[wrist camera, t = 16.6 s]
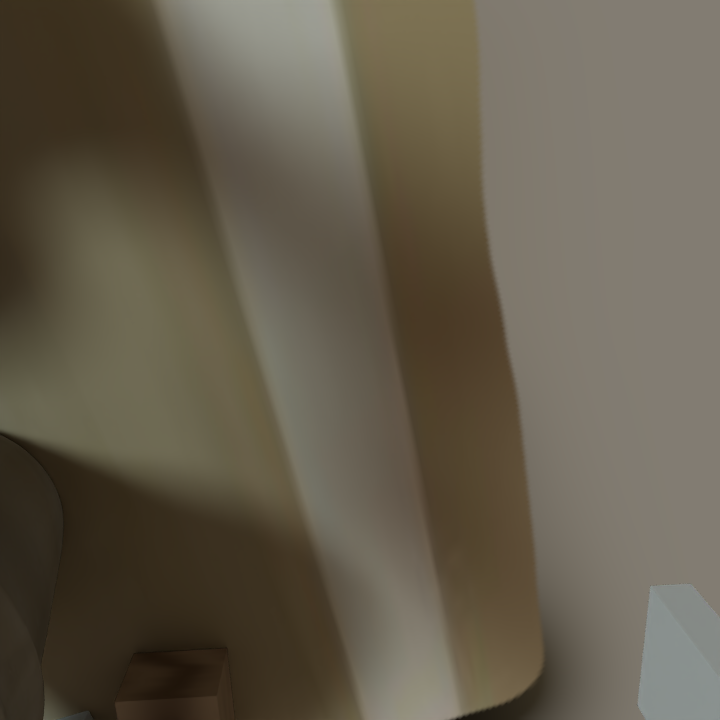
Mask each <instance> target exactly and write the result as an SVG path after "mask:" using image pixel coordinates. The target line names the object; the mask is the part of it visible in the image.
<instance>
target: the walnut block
mask: <svg viewBox="0 0 720 720" xmlns="http://www.w3.org/2000/svg"><path fill="white" fill-rule="evenodd" d="M114 703H115V708H116V714H117V720H235V715H234V706H233V697H232V688H231V679H230V670H229V661H228V652H227V648H220V649H203V650H186V651H169V652H152V653H135V654H134V655H133V657H132V660H131V662H130V665H129V667H128V670H127V672H126V675H125V677H124V679H123V682H122V684H121V687H120V689H119V692H118V694H117V697H116V699H115V702H114Z"/></svg>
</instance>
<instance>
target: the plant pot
mask: <svg viewBox="0 0 720 720" xmlns="http://www.w3.org/2000/svg"><path fill="white" fill-rule="evenodd" d="M63 525H64V521H63V510H62V505H61V502H60V498H59V495H58V492H57V490H56V488H55V486H54V484H53V482H52V481H51V479H50V477H49V476H48V474H47V473H46V471H45V470H44V468H43V467H42V466H41V465H40V464H39V463H38V462H37V460H36V459H35V458H33V457H32V456H31V455H30V454H29V453H28V452H27V451H25V450H24V449H23V448H22V447H20V446H19V445H17V444H16V443H14V442H12V441H11V440H9V439H7V438H6V437H4V436H1V435H0V720H43V716H44V701H45V699H44V684H43V677H42V671H41V662H42V657H43V651H44V646H45V641H46V636H47V631H48V625H49V619H50V614H51V608H52V602H53V597H54V591H55V586H56V580H57V575H58V569H59V564H60V558H61V551H62V543H63Z"/></svg>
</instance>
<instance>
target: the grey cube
mask: <svg viewBox="0 0 720 720" xmlns="http://www.w3.org/2000/svg"><path fill="white" fill-rule="evenodd" d="M57 720H93V718H92V716H91V714H90V712H89V711H85V712H81V713H78V714H74V715H71V716H67V717H64V718H60V719H57Z"/></svg>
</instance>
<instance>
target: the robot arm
mask: <svg viewBox="0 0 720 720" xmlns="http://www.w3.org/2000/svg"><path fill="white" fill-rule="evenodd" d="M639 686H640V687H639V695H638V705H637V706H638V707H639V709H640V711H641V712H642V714H643V716H644V718H645V720H720V617H719V616H718V615H717V613H716V612H715V611H714V610H713V609H712V608H711V607H710V605H709V604H708V603H707V602H706V601H705V599H704V598H703V597H702V596H701V595H700V594H699V592H698V591H697V590H696V589H695V588H694V587H693V585H692V584H673V585H656V586H650V593H649V602H648V612H647V621H646V630H645V640H644V648H643V658H642V667H641V677H640V685H639Z"/></svg>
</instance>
